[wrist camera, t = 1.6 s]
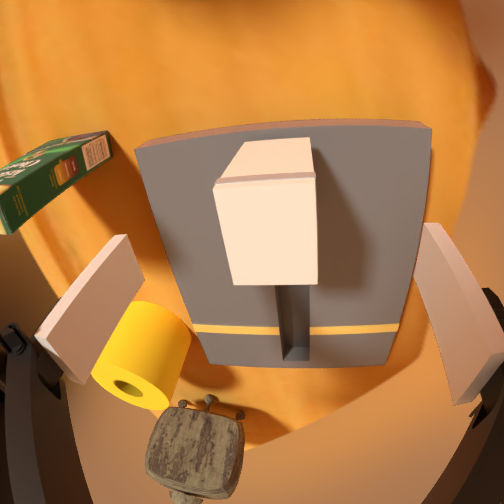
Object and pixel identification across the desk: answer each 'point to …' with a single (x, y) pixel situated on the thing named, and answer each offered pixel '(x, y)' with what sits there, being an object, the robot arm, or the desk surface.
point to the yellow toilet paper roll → (144, 356)
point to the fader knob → (270, 213)
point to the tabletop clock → (196, 453)
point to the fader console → (329, 241)
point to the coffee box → (47, 175)
